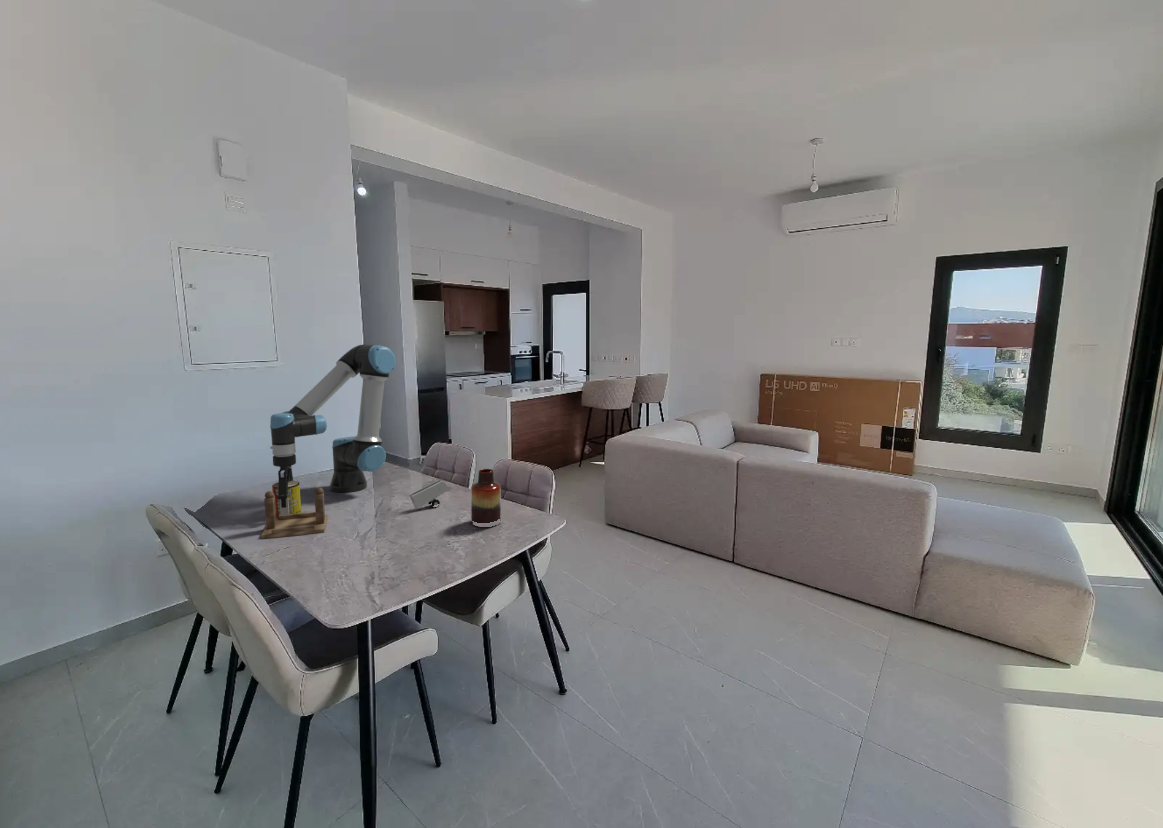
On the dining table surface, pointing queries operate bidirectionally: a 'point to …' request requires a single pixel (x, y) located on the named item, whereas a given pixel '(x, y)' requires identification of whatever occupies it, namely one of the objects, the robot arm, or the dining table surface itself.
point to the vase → (485, 498)
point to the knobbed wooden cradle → (294, 519)
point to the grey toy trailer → (428, 494)
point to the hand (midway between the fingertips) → (287, 509)
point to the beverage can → (289, 498)
